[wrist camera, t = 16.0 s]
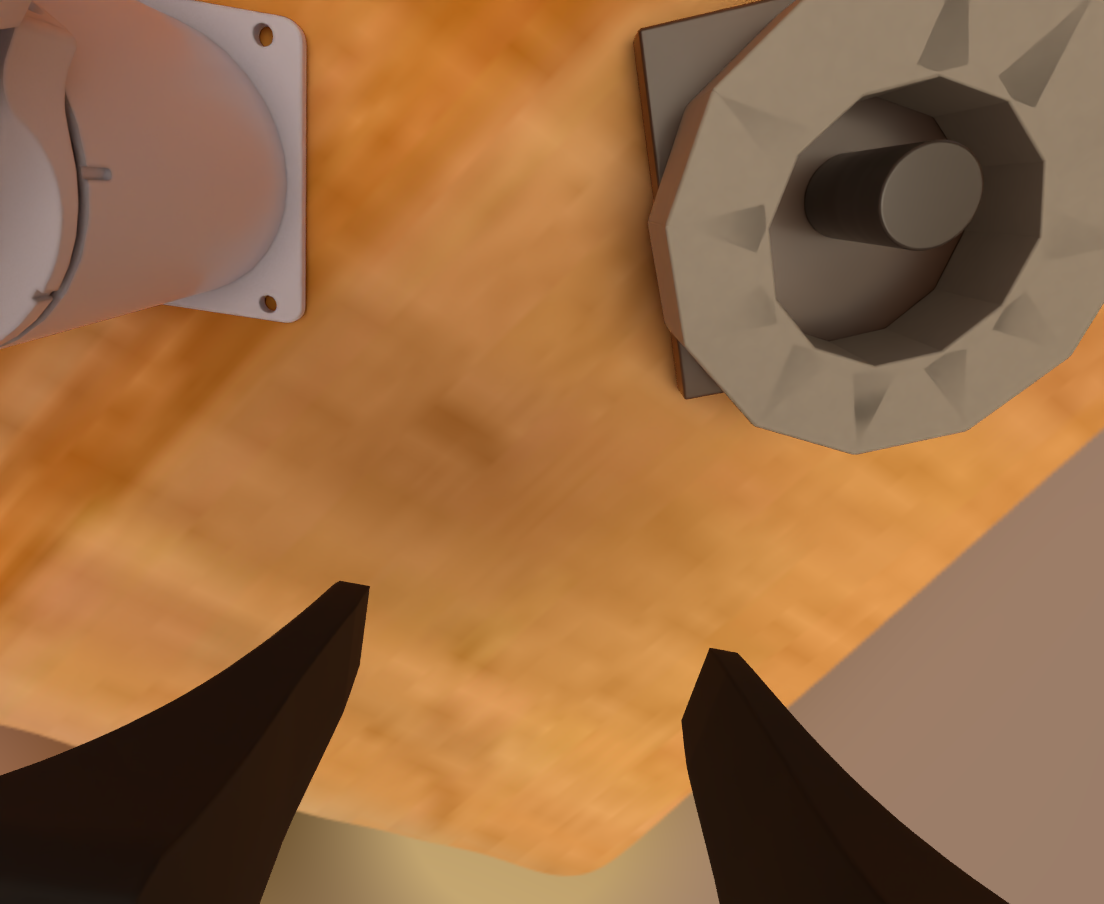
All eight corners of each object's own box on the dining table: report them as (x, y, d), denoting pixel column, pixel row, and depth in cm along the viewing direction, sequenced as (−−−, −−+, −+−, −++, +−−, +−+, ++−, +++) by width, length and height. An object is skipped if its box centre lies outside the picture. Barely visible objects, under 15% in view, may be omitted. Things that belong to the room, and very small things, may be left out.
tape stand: (677, 389, 21) (718, 453, 16) (632, 39, 17) (667, -29, 12) (991, 330, 20) (1143, 376, 15) (1016, -50, 16) (1231, -164, 11)
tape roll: (572, 219, 17) (576, 224, 15) (918, -127, 15) (1004, -203, 12) (801, 479, 20) (839, 524, 18) (1124, 235, 18) (1232, 242, 15)
